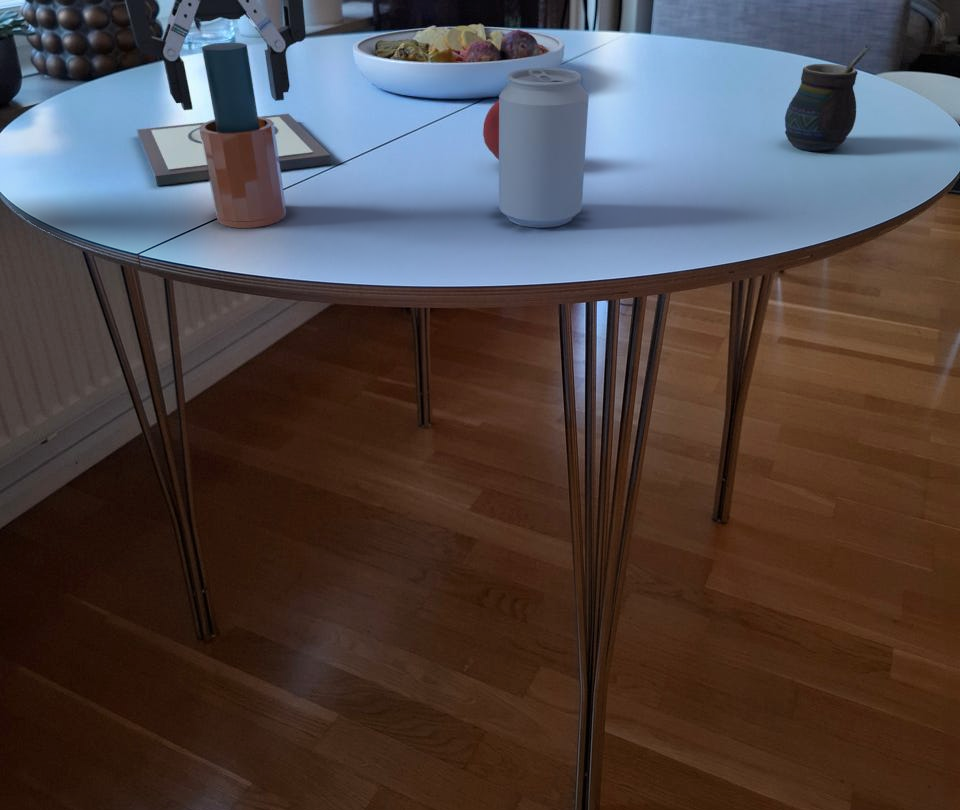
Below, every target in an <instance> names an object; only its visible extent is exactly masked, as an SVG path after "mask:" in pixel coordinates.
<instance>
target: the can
mask: <svg viewBox="0 0 960 810" xmlns="http://www.w3.org/2000/svg"><path fill="white" fill-rule="evenodd" d="M507 79H508V80H509V84H508V85H507V86H506V87H505V88H504V90H503V91H502V92H501V93H500V95H499V96H498V98H499V99H498V100H499V160H498V209H499V211H500V213H502V214H503V215H504V216H506V218H507V219H508V220H509V221H510V222H511V223H513V224H516V225H518V226H521V227H527V228H539V229H541V228H542V229H543V228H544V229H545V228H555V227H559V226H563V225H566V224H568V223H569V222H571V221H572V219H573V218H574V217H576V215H578V214H579V213H580V212H581V210H582V208H583V196H584V195H583V194H584V179H585V178H584V176H585V162H586V147H587V130H588V115H589V113H588V112H589V99H590V97H589V96H590V95H589V93H588V92H587V90H586V89H585V88H584V86H583V85H582V83H581V81H582V80H583V75H582V74H581V73H580V72H578V71H575V70H573V69H566V68H559V69H558V68H530V69H522V70H517V71H514V72H511V73H509V74H508V76H507Z"/></svg>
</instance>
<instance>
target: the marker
mask: <svg viewBox="0 0 960 810" xmlns="http://www.w3.org/2000/svg"><path fill="white" fill-rule="evenodd" d="M201 51H202V55H203V61H204V66H205V72H206V78H207V84H208V88H209V89H208V90H209V95H210V100H211V105H212V111H213V112H212V113H213V117H214V119H215V123H216V128H217V132H220V133H238V132H247V131H252V130H257V129H260V128H259V121H258V117H259V116H258V107H257V102H256V96H255V90H254V83H253V76H252V71H251V64H250V57H249V50H248V45H247V44H246V43H243V42H216V43H210V44H206V45H203V46H202V47H201Z"/></svg>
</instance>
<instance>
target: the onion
mask: <svg viewBox="0 0 960 810" xmlns="http://www.w3.org/2000/svg"><path fill="white" fill-rule="evenodd" d="M482 129H483V130H482V136H483V141H484V144H485V146H486V148H487V149H488V151H489V152H491V153H492V154H493V156H494V157H495V158H496V159H497V160H498V161H499V99H498V100H497V101H496V102H494V103H493V104H492V106H491V107H490V108H489V110H488V112H487V113H486V115H485V118H484V122H483V128H482Z"/></svg>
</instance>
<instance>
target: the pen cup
mask: <svg viewBox="0 0 960 810" xmlns="http://www.w3.org/2000/svg"><path fill="white" fill-rule="evenodd" d="M258 121H259V128H260V129H257V130H252V131H247V132H238V133H220V132H217V128H216V123H215V118H213V119H211V120H208V121H205V123H204V122H202V123H203V124H202V125H201V126H200V127H199V130H200V135H201V141H202V146H203V151H204V156H205V161H206V166H207V172H208V177H209V180H208V181H209V187H210V191H211V197H212V198H211V199H212V202H213V207H214V213H215V216H216V220H217V222H218V223H219V224H220V225H222V226H224V227H229V228H236V229H253V228H261V227H266V226H270V225H273V224H276V223H279V222H280V221H282V220H283V219H285V217H286V215H287V211H286V207H287V205H286V198H285V192H284V185H283V178H282V177H283V176H282V171H281V170H280V163H279V156H278V149H277V142H276V135H275V128H274V123H273V122H272V120H270V119H267V118H264V117H262V116H258Z"/></svg>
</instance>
